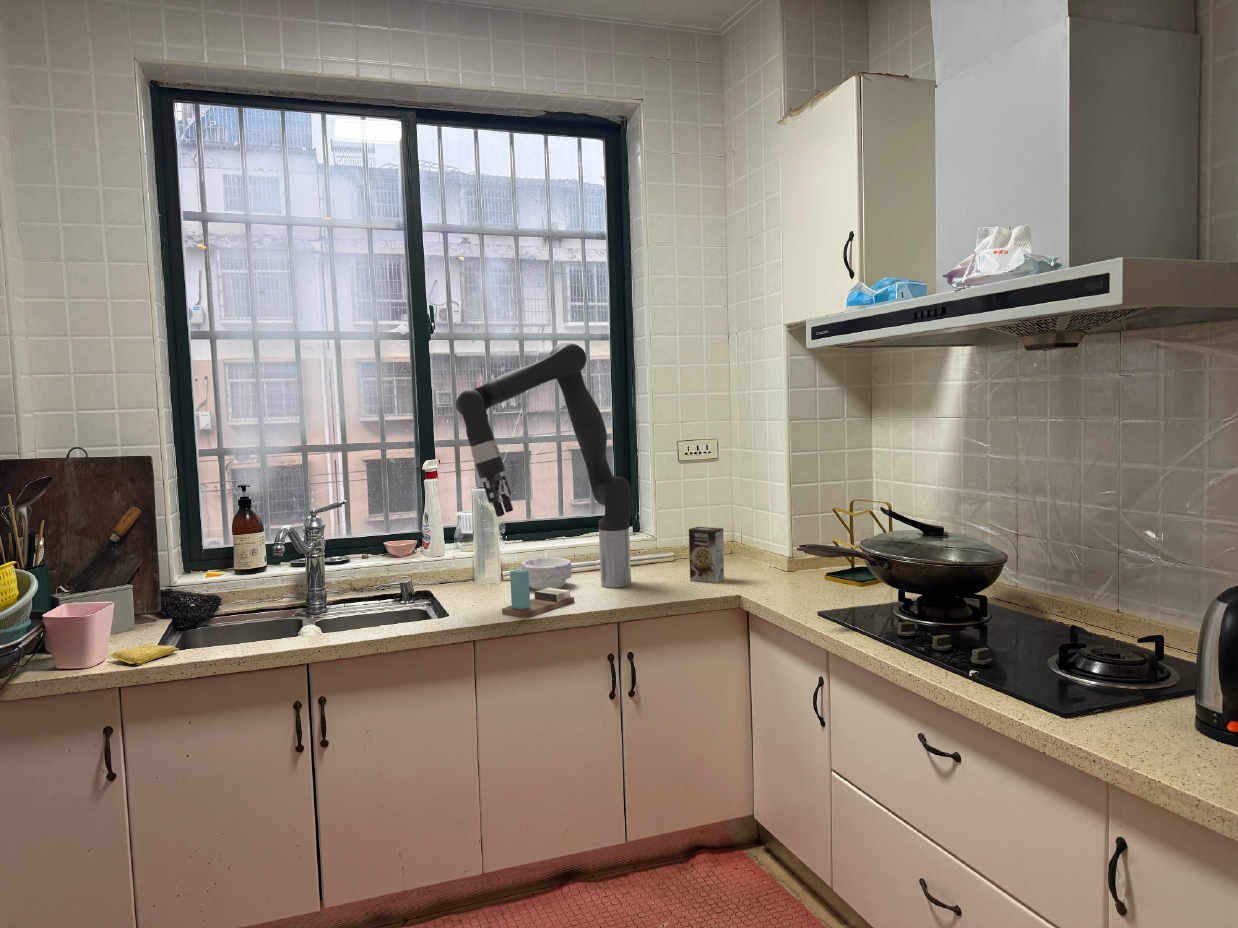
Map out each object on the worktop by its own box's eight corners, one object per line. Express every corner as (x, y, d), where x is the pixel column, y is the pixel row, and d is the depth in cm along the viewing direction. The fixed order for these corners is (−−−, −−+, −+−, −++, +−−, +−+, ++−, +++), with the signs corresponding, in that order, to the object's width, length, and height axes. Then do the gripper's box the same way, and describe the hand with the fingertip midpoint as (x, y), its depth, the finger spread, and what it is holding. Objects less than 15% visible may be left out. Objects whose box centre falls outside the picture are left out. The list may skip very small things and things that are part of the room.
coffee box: (689, 581, 261) (687, 529, 260) (698, 577, 267) (696, 525, 266) (716, 583, 257) (714, 530, 255) (725, 579, 262) (723, 527, 261)
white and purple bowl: (570, 591, 253) (569, 565, 253) (519, 593, 254) (517, 567, 253) (574, 581, 269) (573, 556, 268) (526, 582, 269) (524, 557, 268)
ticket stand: (550, 598, 245) (549, 586, 245) (574, 602, 240) (573, 589, 239) (502, 613, 230) (501, 600, 229) (526, 617, 224) (526, 604, 224)
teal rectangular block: (519, 605, 231) (517, 569, 231) (530, 607, 229) (528, 570, 228) (511, 608, 229) (509, 571, 228) (522, 609, 227) (520, 572, 226)
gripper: (492, 457, 232) (510, 513, 233) (507, 453, 246) (524, 506, 247) (467, 465, 233) (485, 521, 234) (483, 460, 247) (500, 513, 248)
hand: (505, 513), depth 240 cm, fingers open, 8 cm apart
